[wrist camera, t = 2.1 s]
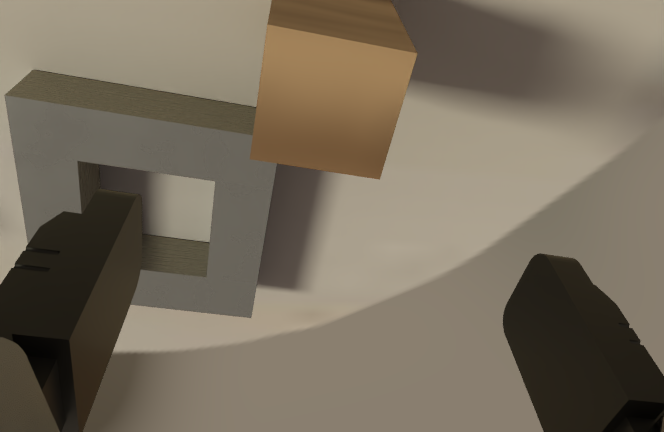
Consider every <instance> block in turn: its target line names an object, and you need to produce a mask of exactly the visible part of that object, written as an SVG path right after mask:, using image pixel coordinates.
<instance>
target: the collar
mask: <svg viewBox="0 0 664 432" xmlns="http://www.w3.org/2000/svg"><path fill="white" fill-rule="evenodd" d="M5 101H6V107H7V114H8V120H9V126H10V133H11V139H12V145H13V152H14V158H15V164H16V171H17V177H18V183H19V190H20V196H21V202H22V209H23V215H24V221H25V228H26V234H27V240H28V243H29V242H30V240H31V239H32V238H33V236H34V235H35V233H36V232H37V230H38V229H39V227H40V226H42V225H43V224H45V223H46V222H48V221H49V220H51V219H52V218H54V217H56V216H57V215H59V214H60V213H62V212H63V211H66V212H73V213H80V214H83V212H84V210H85V209H86V207H87V205H88V204H89V202H90V200H91V198H92V197H93V195H94V193H95V192H96V191H97V190H98V189H100V172H99V164H102V165H109V166H115V167H122V168H129V169H136V170H143V171H149V172H156V173H163V174H170V175H177V176H183V177H190V178H197V179H204V180H211V181H215V191H214V202H213V213H212V223H211V234H210V243H206V242H198V241H190V240H183V239H175V238H167V237H159V236H152V235H144V234H142V263H141V270H140V276H139V280H138V284H137V288H136V291H135V293H134V296H133V299H132V301H131V304H130V305H138V306H148V307H157V308H166V309H175V310H184V311H193V312H202V313H211V314H220V315H229V316H238V317H247V318H251V316H252V310H253V304H254V298H255V292H256V286H257V280H258V274H259V268H260V262H261V256H262V250H263V244H264V238H265V232H266V226H267V221H268V215H269V209H270V203H271V197H272V191H273V185H274V179H275V173H276V167H277V163H271V162H264V161H258V160H251V159H250V153H251V145H252V138H253V130H254V123H255V115H256V108H255V107H249V106H244V105H238V104H232V103H226V102H220V101H214V100H208V99H202V98H196V97H191V96H185V95H179V94H173V93H167V92H161V91H155V90H149V89H143V88H138V87H132V86H126V85H120V84H114V83H108V82H102V81H96V80H90V79H85V78H79V77H73V76H67V75H61V74H55V73H49V72H43V71H37V70H32V71H31V72H30V73H29V74H28V75H27V76H26V77H24V78H23V79H22V80H21V81H20V82H19V83H18V84H17V85H15V86H14V87H13V88H12V89H11V90H10V91H9V92H8V93H6V94H5Z"/></svg>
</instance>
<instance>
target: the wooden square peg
mask: <svg viewBox="0 0 664 432" xmlns="http://www.w3.org/2000/svg"><path fill="white" fill-rule="evenodd" d="M417 54H418V53H417V51H416V49H415V47H414V45H413V43H412V41H411V39H410V37H409V35H408V33H407V31H406V29H405V28H404V26H403V24H402V22H401V20H400V18H399V16H398V14H397V12H396V10H395V8H394V6H393V4H392V2H391V0H272V3H271V8H270V14H269V19H268V24H267V32H266V40H265V47H264V55H263V62H262V70H261V77H260V85H259V92H258V100H257V107H256V115H255V123H254V130H253V138H252V145H251V153H250V159H251V160H258V161H264V162H271V163H277V164H283V165H290V166H296V167H303V168H309V169H316V170H322V171H329V172H335V173H342V174H348V175H355V176H361V177H367V178H374V179H380V176H381V173H382V170H383V167H384V163H385V160H386V157H387V153H388V150H389V147H390V143H391V140H392V137H393V133H394V130H395V127H396V123H397V120H398V117H399V113H400V110H401V107H402V103H403V100H404V97H405V93H406V90H407V87H408V83H409V80H410V77H411V73H412V70H413V67H414V64H415V60H416V57H417Z"/></svg>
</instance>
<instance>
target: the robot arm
mask: <svg viewBox="0 0 664 432" xmlns="http://www.w3.org/2000/svg"><path fill="white" fill-rule="evenodd" d="M141 263H142V198H141V195H139V194H132V193H125V192H118V191H111V190H104V189H98V190H97V191H96V192H95V193H94V195H93V197H92V198H91V200H90V202H89V204H88V205H87V207H86V209H85V210H84V212H83V214H80V213H73V212H66V211H63V212H62V213H60V214H59V215H57V216H56V217H54V218H52V219H51V220H49V221H48V222H46V223H45V224H43V225H42V226H40V227H39V229H38V230H37V232H36V233H35V235H34V236H33V238H32V239H31V240H30V242H29V243H28V245H27V246H26V251H23V252H22V254H21V255H20V257H19V258H18V260H17V261H16V263H15V267H14V268H11V270H10V271H9V273H8V274H7V276H6V277H5V279H4V280H3V282H2V283H1V285H0V432H83V430H84V427H85V424H86V422H87V419H88V416H89V414H90V411H91V408H92V406H93V403H94V400H95V398H96V395H97V392H98V390H99V387H100V384H101V381H102V379H103V376H104V373H105V371H106V368H107V365H108V363H109V360H110V357H111V355H112V352H113V349H114V347H115V344H116V341H117V339H118V336H119V333H120V331H121V328H122V325H123V323H124V320H125V317H126V315H127V312H128V309H129V307H130V304H131V301H132V299H133V296H134V293H135V291H136V288H137V284H138V280H139V276H140V270H141ZM503 328H504V333H505V336H506V338H507V340H508V343H509V346H510V348H511V351H512V353H513V356H514V358H515V361H516V363H517V366H518V368H519V371H520V373H521V376H522V378H523V381H524V383H525V386H526V388H527V391H528V393H529V396H530V398H531V401H532V403H533V406H534V408H535V410H536V413H537V416H538V418H539V421H540V423H541V426H542V428H543V431H544V432H664V376H663V374H662V373H661V371H660V370H659V368H658V367H657V365H656V364H655V362H654V361H653V359H652V357H651V356H650V355H649V353H648V352H647V350H646V348H645V347H644V346H643V345H640V339H639V338H638V336H637V335H636V333H635V332H634V330H633V329H632V328H629V323H628V321H627V320H626V318H625V317H624V315H623V314H622V312H621V311H620V309H619V308H618V306H617V305H616V304H615V303H614V302H613V301H612V300H611V299H610V298H609V297H608V296H607V295H606V294H605V293H603V292H602V291H601V290H600V289H599V288H598V287H597V286H595V285H593V283H592V282H591V280H590V279H589V277H588V276H587V274H586V272H585V271H584V269H583V268H582V266H581V265H580V263H579V262H578V261H577V260H576V259H573V258H568V257H560V256H554V255H547V254H537V255H535V256H534V257H533V258H532V259H531V260H530V262H529V264H528V266H527V268H526V269H525V271H524V273H523V275H522V277H521V279H520V280H519V282H518V284H517V286H516V288H515V290H514V292H513V294H512V295H511V297H510V299H509V301H508V302H507V305H506V307H505V310H504V315H503Z"/></svg>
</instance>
